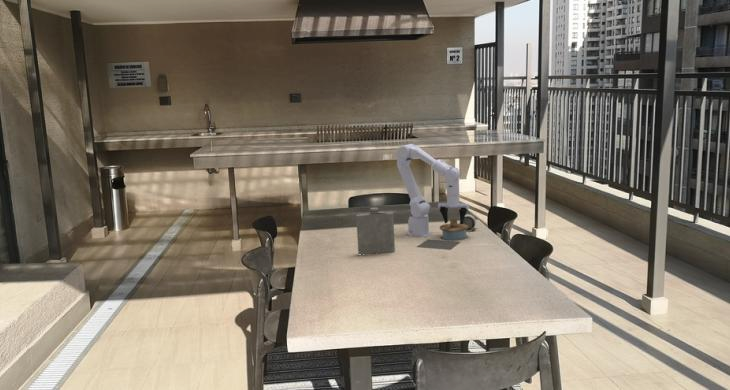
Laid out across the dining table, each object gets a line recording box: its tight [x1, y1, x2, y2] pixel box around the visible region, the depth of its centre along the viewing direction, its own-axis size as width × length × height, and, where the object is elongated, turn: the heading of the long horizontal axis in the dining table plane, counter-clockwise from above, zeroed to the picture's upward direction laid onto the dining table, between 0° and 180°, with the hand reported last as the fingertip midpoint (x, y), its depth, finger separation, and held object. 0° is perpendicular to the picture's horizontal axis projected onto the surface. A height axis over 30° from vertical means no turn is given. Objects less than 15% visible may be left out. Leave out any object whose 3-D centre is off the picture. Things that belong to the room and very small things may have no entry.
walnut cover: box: [439, 218, 468, 232], centre depth 278 cm, size 13×13×4 cm
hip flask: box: [355, 207, 396, 256], centre depth 258 cm, size 16×4×20 cm, turn 94°
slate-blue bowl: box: [441, 230, 467, 241], centre depth 279 cm, size 11×11×4 cm
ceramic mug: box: [458, 213, 477, 232], centre depth 293 cm, size 11×8×8 cm
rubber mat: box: [416, 238, 461, 251], centre depth 267 cm, size 16×14×1 cm
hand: (453, 223), depth 278 cm, fingers open, 7 cm apart
